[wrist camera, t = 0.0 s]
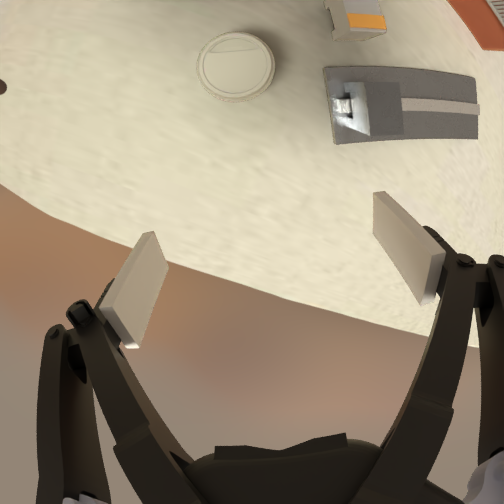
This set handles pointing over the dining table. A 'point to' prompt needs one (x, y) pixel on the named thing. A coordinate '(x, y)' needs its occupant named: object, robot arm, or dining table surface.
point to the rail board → (410, 90)
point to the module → (356, 19)
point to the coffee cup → (235, 66)
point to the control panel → (483, 21)
